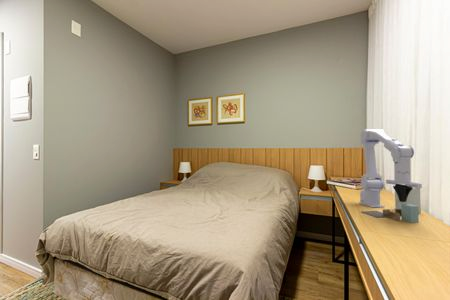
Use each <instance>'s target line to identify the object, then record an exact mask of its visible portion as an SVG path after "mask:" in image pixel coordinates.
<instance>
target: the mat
mask: <svg viewBox="0 0 450 300" xmlns="http://www.w3.org/2000/svg"><path fill="white" fill-rule="evenodd" d="M360 212H361V213H362V214H364V215H367V216H370V217H373V218H377V219H378V218H379V219H380V218H388V217H387V216H384V215H383V211H378V210H367V211H366V210H365V211H364V210H363V211H360Z"/></svg>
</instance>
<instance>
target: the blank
mask: <svg viewBox="0 0 450 300" xmlns="http://www.w3.org/2000/svg"><path fill="white" fill-rule="evenodd" d="M401 211H402V216H401V220H402V221H405V222H408V223H419V219H420V218H419V213H418V206H415V205H411V204H401Z"/></svg>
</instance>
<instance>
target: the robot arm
mask: <svg viewBox="0 0 450 300" xmlns="http://www.w3.org/2000/svg"><path fill="white" fill-rule="evenodd" d="M360 141H361V145H362V146H363V151H364V163H365V172H366V173H364V174H363V175H361V177H360V178H361V181H360V186H361V188H362V189H361V190H360V192H359V197H360V198H359V200H360V201H359V204H360V205H364V206H367V207H369V208H370V207H371V208H384V207H385V205H383V204H381V192H382V190H384V187H385V184H386V185H387V184H389V185H393V186H392V188H393V190H394V192H395V191H396V193H397V195H398V198H399V201H400V202H406V200H407V197H408V195H409V193H410V191H411V190H412V189H413V188H420V189H422V188H423V187H422V186H423V185H422V184H423V183H419V182H412V174H411V171H412V170H411V169H412V168H411V166H412V165H411V162H412V161H411V158H412V159H413V157H414V155H415V150H414V148H413V147H412V146H411V145H404V144H403V143H402V142H400V141H398V139H397V138H395V137H394V138H393V137H392V138H391V137H390V136H388V135H387V134H386V132H385V130H384V129H382V128H377V129H375V128H374V129H371V128H370V129H369V128H368V129H367V128H365V129H363V130H362V131H361V133H360ZM379 143H383V147H384V148H385V149H386V150H388V151H389V152H390V155H391V157H392V161H393V167H394V169H393V170H394V171H393V173H394V179H386V180H385V182H384V180H383V176H382V175H380V174H379V173H378V169H377V160H376V151H375V146H376V145H378V144H379Z"/></svg>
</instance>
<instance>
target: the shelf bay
mask: <svg viewBox="0 0 450 300" xmlns="http://www.w3.org/2000/svg"><path fill="white" fill-rule="evenodd" d="M382 213H383V215H384V216H387V217H386V218H389V219H391V220H395V221H398V222H400V221H401V217H402V211H401V209H395V208H394V211H391V209H387V208H386V209H382Z"/></svg>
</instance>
